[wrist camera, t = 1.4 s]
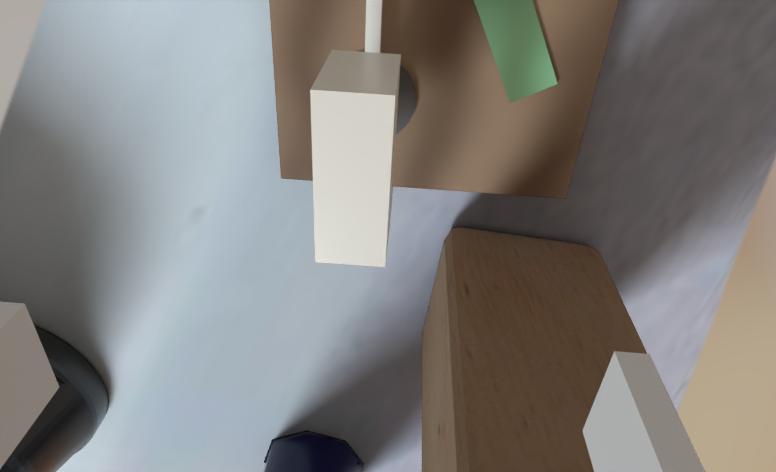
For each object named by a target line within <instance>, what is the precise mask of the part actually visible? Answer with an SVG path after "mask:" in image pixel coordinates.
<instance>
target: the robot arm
mask: <svg viewBox="0 0 776 472" xmlns="http://www.w3.org/2000/svg"><path fill="white" fill-rule="evenodd" d="M107 408H108V397H107V393H106V389H105V387H104V384H103V382H102V380H101V378H100V377H99V375H98V374H97V372H96V371H95V370H94V368H93V367H92V366H91V365H90V364H89V363H88V362H87V360H86V359H84V358H83V357H82V356H81V355H80V354H79V353H78V352H77V351H75V350H74V349H73V348H72V347H70V346H69V345H67V344H66V343H65V342H63V341H61V340H60V339H58V338H57V337H55V336H53V335H51V334H50V333H48V332H46V331H44V330H42V329H39V328H37V327H35V326H34V324H33V322H32V319H31V317H30V315H29V312H28V310H27V307H26V305H25V303H13V302H1V301H0V472H56V471H57V470H58V469H59V468H60V467H61V466H62V465H63V464H64V463H65V462H66V461H68V460H69V459H70V458H71V457H72V456H73V455H74V454H75V453H77V452H78V451H79V450H81V449H82V448H83V447H84V446H86V444H87V443H88V442H89V441H90V440H91V438H92V437H93V435H94V434H95V432H96V430H97V429H98V427H99V425H100V424H101V422H102V420H103V419H104V417H105V415H106V412H107ZM582 431H583V435H584V438H585V442H586V445H587V449H588V452H589V456H590V459H591V463H592V466H593V470H594V472H705V470H704V468H703V466H702V464H701V462H700V460H699V458H698V456H697V453H696V452H695V449H694V447H693V445H692V443H691V441H690V439H689V437H688V434H687V433H686V430H685V428H684V426H683V424H682V422H681V420H680V418H679V415H678V413H677V411H676V409H675V407H674V405H673V403H672V401H671V399H670V396H669V394H668V392H667V390H666V388H665V386H664V384H663V382H662V380H661V377H660V375H659V373H658V371H657V369H656V367H655V365H654V363H653V361H652V358H651V356H650V354H643V353H631V352H618V351H614V353H613V356H612V358H611V361H610V363H609V366H608V368H607V371H606V373H605V376H604V378H603V381H602V383H601V386H600V388H599V391H598V393H597V396H596V398H595V401H594V403H593V406H592V408H591V411H590V413H589V415H588V418H587V420H586V423H585V425H584V428H583V430H582Z"/></svg>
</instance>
